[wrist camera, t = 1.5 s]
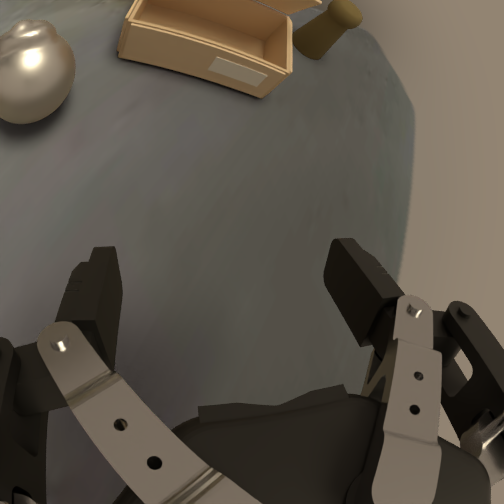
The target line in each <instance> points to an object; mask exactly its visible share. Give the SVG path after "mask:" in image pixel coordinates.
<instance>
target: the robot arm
mask: <svg viewBox="0 0 504 504" xmlns="http://www.w3.org/2000/svg"><path fill="white" fill-rule="evenodd" d="M324 283H325V286H326V288H327V290H328V292H329V293H330V295H331V297H332V298H333V300H334V302H335V304H336V305H337V307H338V309H339V311H340V312H341V314H342V316H343V317H344V319H345V321H346V323H347V324H348V326H349V328H350V330H351V332H352V333H353V335H354V337H355V339H356V340H357V342H358V344H359V346H360V347H364V346H369V345H373V347H374V349H373V351H372V353H371V356H370V361H369V365H368V369H367V373H366V377H365V381H364V385H363V388H362V392H361V394H360V395H357V394H347V392H346V390H345V387H344V385H343V384H341V385H337V386H333V387H328V388H323V389H319V390H314V391H310V392H308V393H306V394H304V395H301V396H299V397H297V398H295V399H293V400H290V401H288V402H286V403H283V404H281V405H277V406H269V405H256V404H244V403H230V404H220V405H210V406H198V413H199V417H196V418H192V419H190V420H188V421H185V422H183V423H181V424H180V425H178V426H176V427H175V428H173V429H172V430H169V429H168V428H167V427H166V425H165V424H164V423H163V422H162V421H161V420H160V419H159V418H158V417H157V416H156V415H155V414H154V413H153V412H152V411H151V410H150V409H149V408H148V407H147V406H146V405H145V403H144V402H143V401H142V400H141V399H140V398H139V397H138V396H137V395H136V393H135V392H134V391H133V390H132V389H131V388H130V387H129V385H128V384H127V383H126V382H125V381H124V380H123V378H122V377H121V376H120V375H119V374H118V373H117V372H115V371H114V366H115V355H116V345H117V336H118V327H119V319H120V312H121V304H122V296H123V290H122V281H121V276H120V270H119V265H118V259H117V253H116V249H115V247H114V246H109V247H94V248H93V251H92V253H91V256H90V259H89V262H80V264H79V265H78V266H77V267H76V268H75V269H74V270H73V271H72V273H71V276H70V278H69V281H68V284H67V287H66V290H65V292H64V295H63V298H62V301H61V304H60V307H59V310H58V313H57V317H56V320H55V323H53V324H50V325H49V326H47V327H46V328H44V329H43V331H42V332H41V333H40V335H39V337H38V339H37V342H35V343H31V344H28V345H24V346H20V347H16V348H14V347H13V346H12V344H11V342H10V341H9V340H8V339H6V338H3V337H0V504H47V503H46V439H47V423H48V411H50V410H54V409H58V408H62V407H66V406H69V407H70V409H71V410H72V412H73V413H74V415H75V416H76V418H77V419H78V421H79V422H80V424H81V425H82V427H83V428H84V430H85V431H86V433H87V434H88V435H89V437H90V438H91V440H92V441H93V442H94V444H95V445H96V446H97V448H98V449H99V450H100V452H101V453H102V454H103V456H104V457H105V458H106V459H107V461H108V462H109V463H110V464H111V466H112V467H113V468H114V469H115V471H116V472H117V473H118V474H119V475H120V477H121V478H122V479H123V480H124V481H125V482H126V484H127V486H126V487H125V488H124V490H123V491H122V492H121V493H120V495H119V496H118V497H117V499H116V500H115V501H114V502H113V504H491V486H493V485H494V484H495V483H497V482H498V481H500V480H502V479H503V478H504V349H503V348H502V347H501V345H500V344H499V342H498V341H497V339H496V338H495V337H494V335H493V334H492V333H491V331H490V330H489V329H488V327H487V326H486V325H485V323H484V322H483V321H482V319H481V318H480V317H479V315H478V314H477V313H476V312H475V311H474V309H473V308H472V307H470V306H469V305H467V304H466V303H463V302H460V301H453V302H451V303H450V305H449V306H448V308H447V310H446V312H443V311H434V310H432V309H431V307H430V306H429V305H428V304H427V303H426V302H425V301H424V300H422V299H420V298H419V297H416V296H413V295H405V294H404V292H403V291H402V290H401V289H400V287H399V286H398V285H397V284H396V282H395V281H394V280H393V279H392V277H391V276H390V275H389V274H387V271H386V270H385V269H384V268H383V267H382V265H381V264H380V263H379V262H378V261H377V259H376V258H375V257H374V256H372V255H371V254H369V253H368V252H366V251H365V250H363V249H362V248H361V247H360V246H359V244H358V243H357V242H356V241H355V240H354V239H353V238H340V239H334V240H333V241H332V243H331V246H330V250H329V254H328V258H327V262H326V265H325V269H324ZM460 349H462V351H463V352H464V354H465V355H466V357H467V358H468V360H469V361H470V363H471V365H472V368H473V374H472V377H471V378H470V379H469V381H467V379H466V377H465V376H464V374H463V372H462V371H461V369H460V368H459V366H458V364H457V363H456V361H455V359H454V357H455V356H456V355H457V353H458V352H459V351H460ZM440 403H441V405H442V406H443V408H444V410H445V412H446V414H447V416H448V418H449V420H450V422H451V424H452V426H453V428H454V430H455V432H456V434H457V436H458V438H459V441H460V448H459V447H458V446H456V445H454V444H452V443H450V442H448V441H446V440H444V439H443V438H441V437H439V436H438V427H439V416H440Z"/></svg>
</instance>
